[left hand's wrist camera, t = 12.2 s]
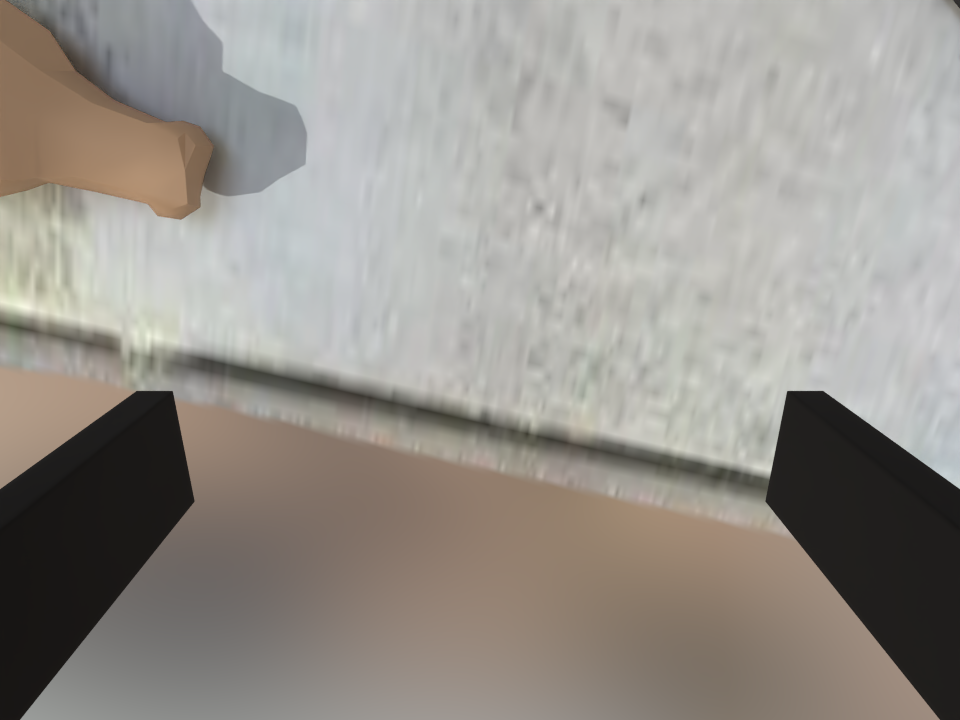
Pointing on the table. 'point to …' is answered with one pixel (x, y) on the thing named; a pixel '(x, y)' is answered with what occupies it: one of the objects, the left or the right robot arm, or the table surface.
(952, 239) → the table surface
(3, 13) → the squash
